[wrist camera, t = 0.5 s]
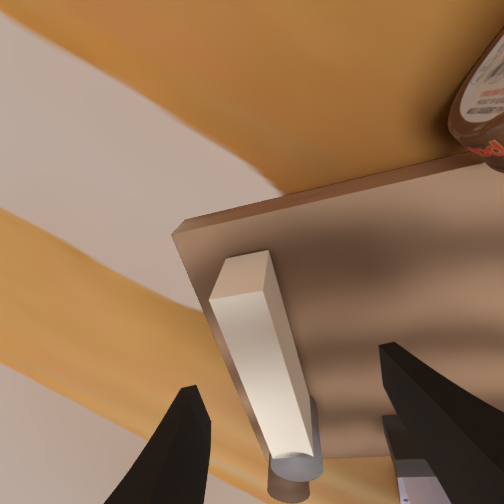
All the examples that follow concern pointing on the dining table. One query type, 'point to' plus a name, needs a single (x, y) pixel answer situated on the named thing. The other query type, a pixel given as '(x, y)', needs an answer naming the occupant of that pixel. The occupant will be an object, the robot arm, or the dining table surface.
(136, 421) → the dining table surface
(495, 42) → the tin
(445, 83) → the dining table surface
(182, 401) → the robot arm
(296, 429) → the folding leg
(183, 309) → the dining table surface
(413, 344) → the stool seat
